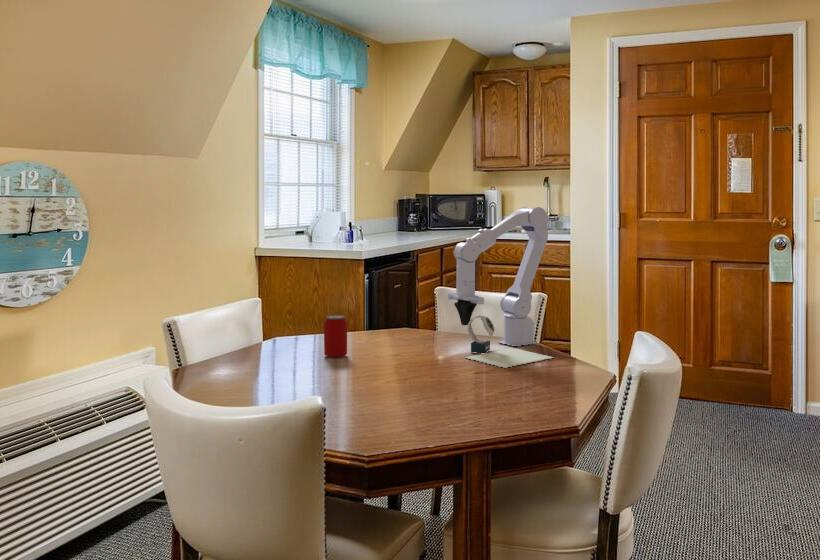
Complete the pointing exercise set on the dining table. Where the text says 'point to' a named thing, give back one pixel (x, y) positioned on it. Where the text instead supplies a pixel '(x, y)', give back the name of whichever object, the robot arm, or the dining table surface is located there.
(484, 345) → the watch
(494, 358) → the mat
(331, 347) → the beverage can
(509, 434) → the dining table surface
